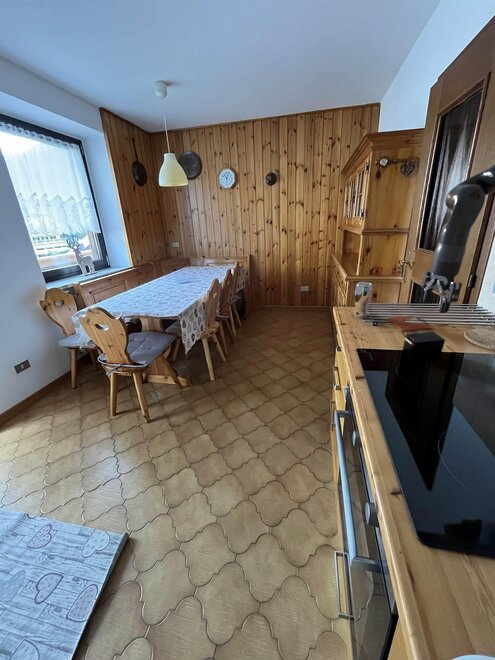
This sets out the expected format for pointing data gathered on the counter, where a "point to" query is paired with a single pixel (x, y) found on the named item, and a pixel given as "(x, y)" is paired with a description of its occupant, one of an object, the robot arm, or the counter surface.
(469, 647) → the counter surface
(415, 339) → the glossy black box
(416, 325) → the mat
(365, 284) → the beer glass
